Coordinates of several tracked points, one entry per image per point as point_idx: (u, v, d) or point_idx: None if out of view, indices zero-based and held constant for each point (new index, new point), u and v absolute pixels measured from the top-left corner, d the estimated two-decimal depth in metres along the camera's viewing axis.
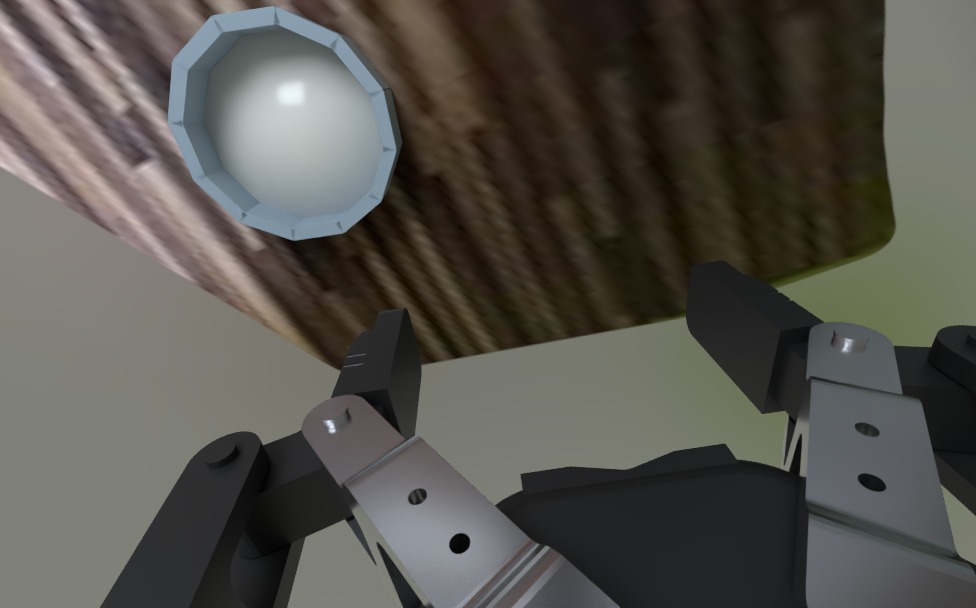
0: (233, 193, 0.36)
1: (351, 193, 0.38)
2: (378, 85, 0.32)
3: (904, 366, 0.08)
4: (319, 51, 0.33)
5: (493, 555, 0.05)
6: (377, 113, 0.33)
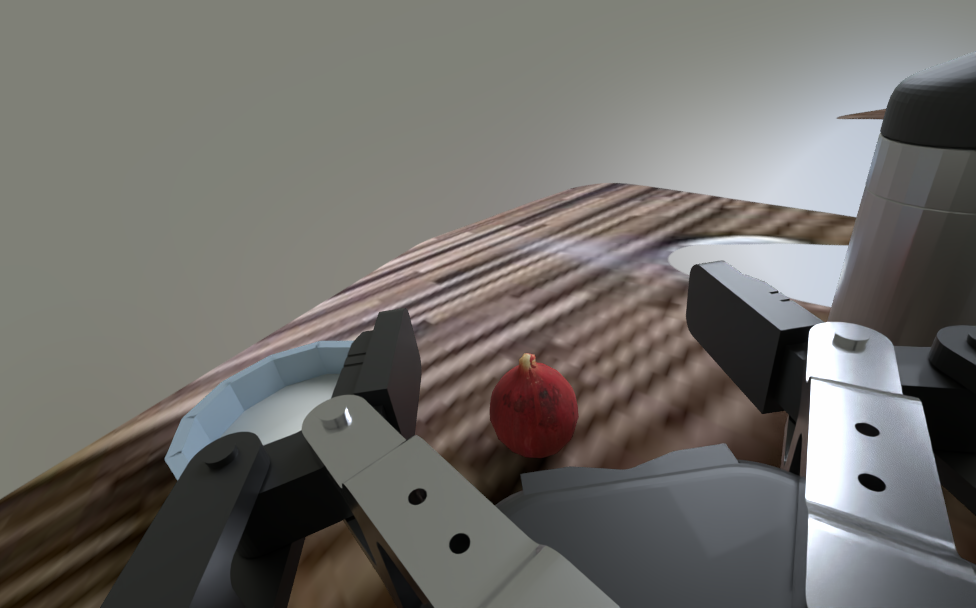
0: (254, 382, 0.38)
1: None
2: None
3: (904, 366, 0.08)
4: None
5: (493, 555, 0.05)
6: None
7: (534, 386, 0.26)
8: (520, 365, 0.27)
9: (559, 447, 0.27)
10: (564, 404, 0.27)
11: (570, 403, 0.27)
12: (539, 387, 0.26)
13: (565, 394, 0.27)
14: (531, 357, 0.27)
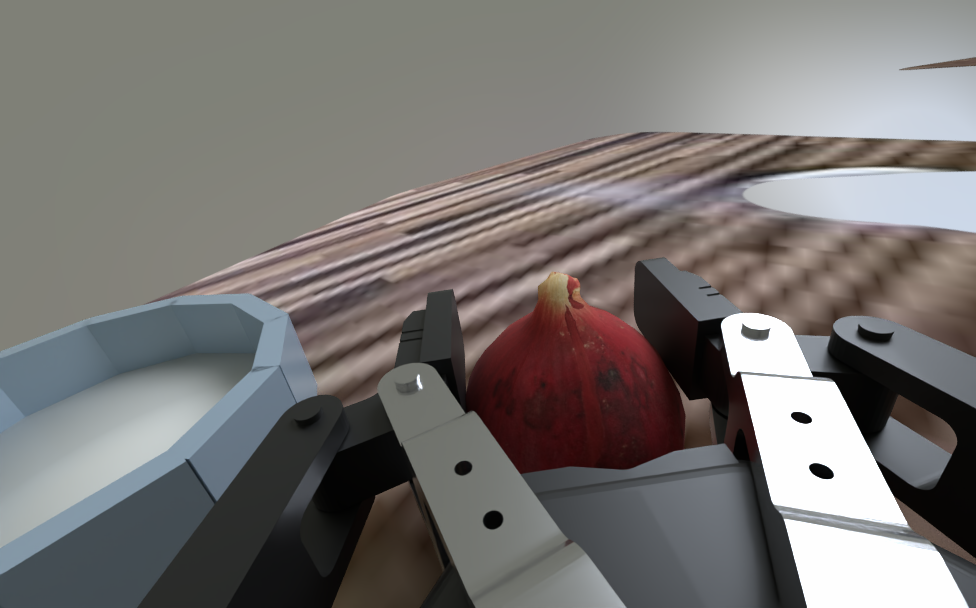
0: (44, 364, 0.21)
1: None
2: (0, 573, 0.10)
3: (805, 353, 0.08)
4: None
5: (522, 538, 0.05)
6: None
7: (582, 356, 0.09)
8: (541, 301, 0.10)
9: None
10: (661, 407, 0.10)
11: (674, 406, 0.10)
12: (595, 360, 0.09)
13: (662, 381, 0.10)
14: (571, 281, 0.10)
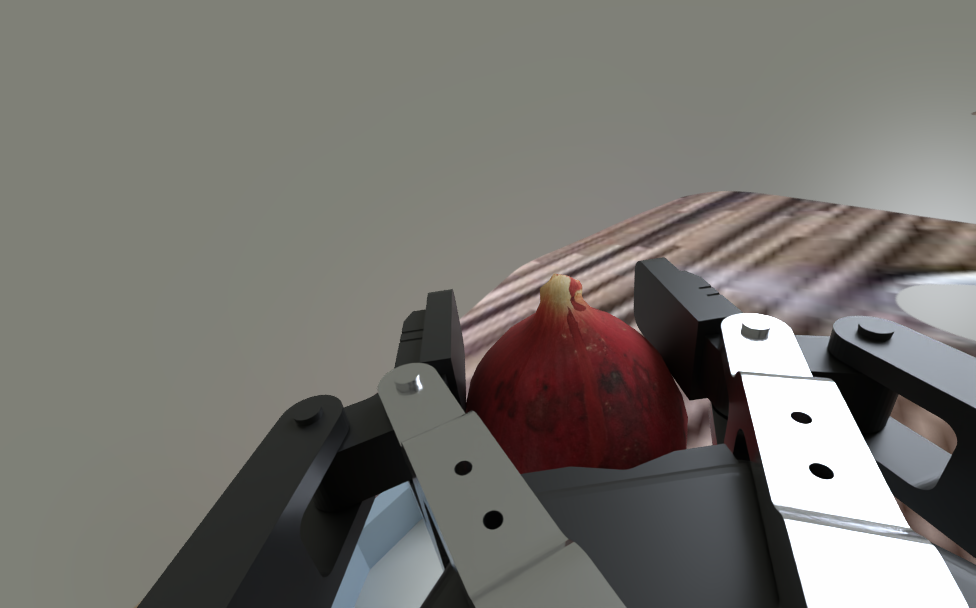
0: (385, 524, 0.24)
1: None
2: None
3: (805, 353, 0.08)
4: None
5: (522, 538, 0.05)
6: None
7: (584, 359, 0.09)
8: (543, 303, 0.10)
9: None
10: (664, 409, 0.10)
11: (676, 408, 0.10)
12: (597, 362, 0.09)
13: (665, 383, 0.10)
14: (574, 282, 0.10)
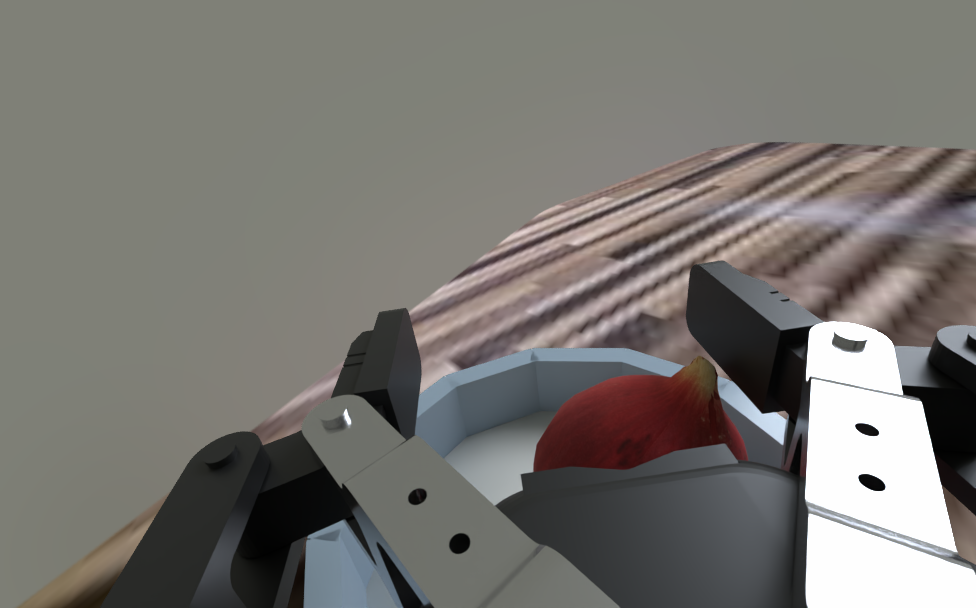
0: (425, 433, 0.18)
1: None
2: None
3: (904, 366, 0.08)
4: None
5: (493, 555, 0.05)
6: None
7: None
8: (688, 381, 0.11)
9: None
10: None
11: None
12: None
13: None
14: None
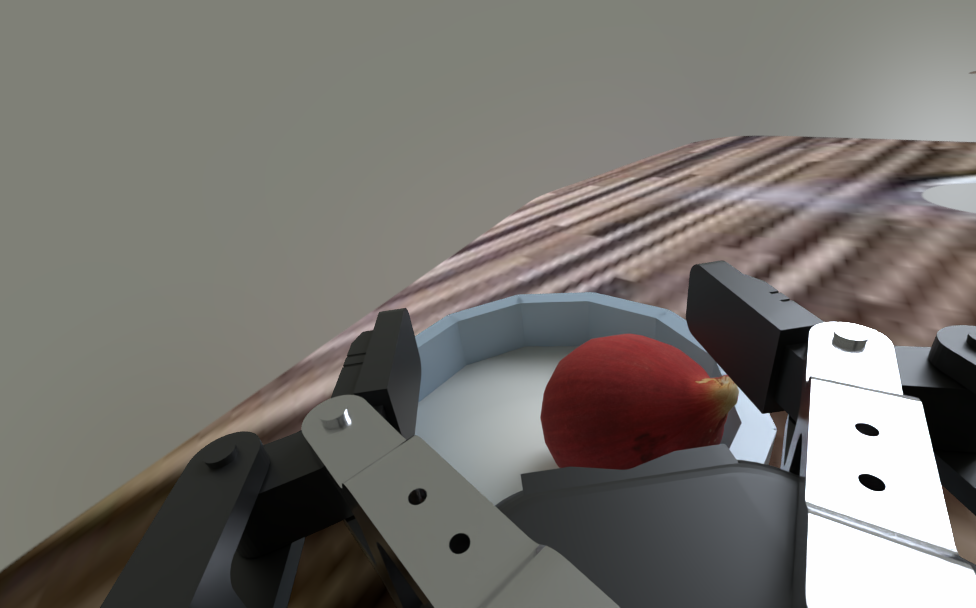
0: (433, 356, 0.23)
1: None
2: None
3: (904, 366, 0.08)
4: None
5: (493, 555, 0.05)
6: None
7: None
8: (714, 402, 0.12)
9: None
10: None
11: None
12: None
13: None
14: (737, 392, 0.13)
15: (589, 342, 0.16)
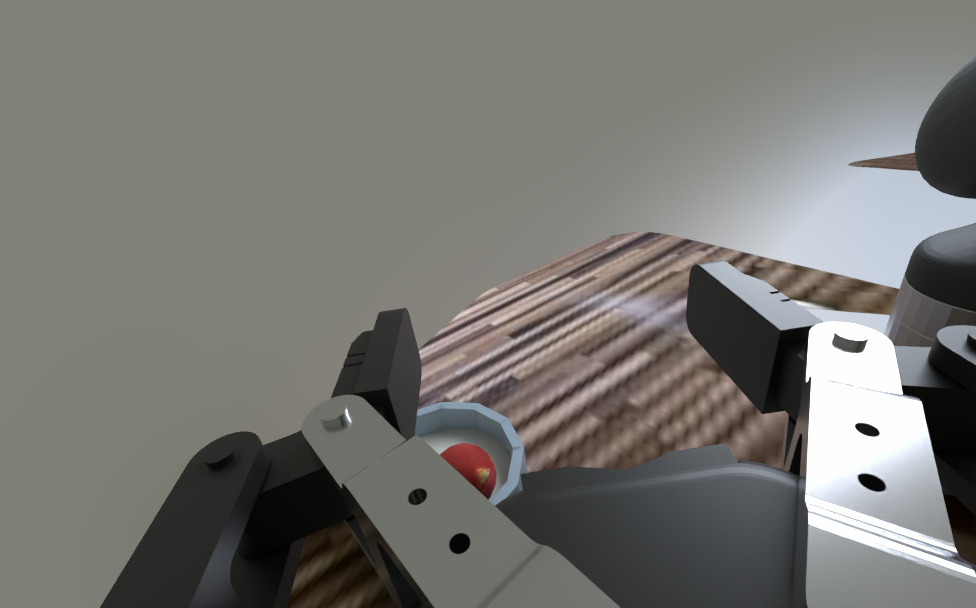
0: None
1: None
2: None
3: (904, 366, 0.08)
4: None
5: (492, 555, 0.05)
6: None
7: (481, 493, 0.36)
8: (479, 478, 0.36)
9: None
10: (489, 496, 0.38)
11: None
12: (483, 493, 0.37)
13: (493, 488, 0.38)
14: (489, 474, 0.36)
15: (450, 447, 0.39)
